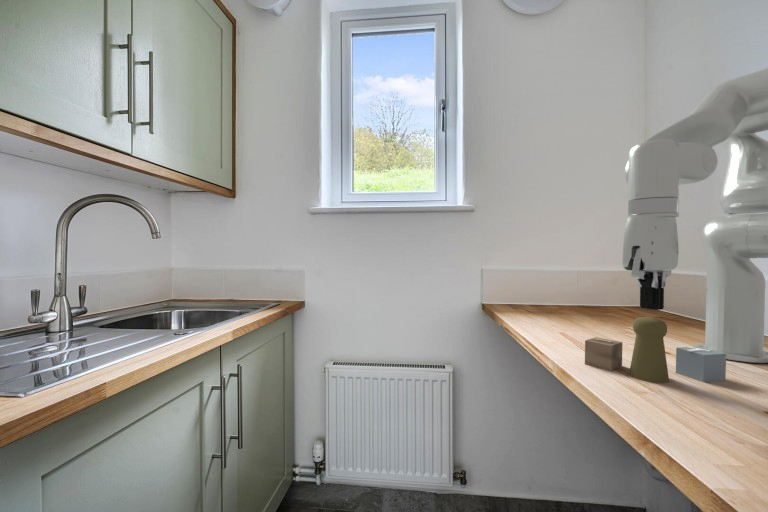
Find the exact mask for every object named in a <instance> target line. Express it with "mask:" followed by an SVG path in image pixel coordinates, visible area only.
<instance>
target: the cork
mask: <svg viewBox="0 0 768 512" xmlns="http://www.w3.org/2000/svg"><path fill="white" fill-rule="evenodd" d="M632 329H633V332H634V333H635V338H634V345H633V350H632V351H633V352H632V355H631V361H630V366H629V367H630V368H629V371H628V372H629V376H631V377H633V378H635V379H638V380H641V381H645V382H649V383H657V384H661V383H662V384H663V383H668V382H669V381H670V377H669V370H668V362H667V356H666V355H667V354H666V348H665V341H664V340H665V339H664V337H665V336H666V335H667V332H668V325H667V323H666V321H664V320H662V319H660V318H656V317H650V316H649V317H647V316H644V317H643V316H642V317H637V318H634V320H633V323H632Z"/></svg>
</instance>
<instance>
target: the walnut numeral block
mask: <svg viewBox="0 0 768 512" xmlns="http://www.w3.org/2000/svg"><path fill="white" fill-rule="evenodd" d="M584 365H587V366H590V367H595V368H598V369H603V370H606V371H610V372H612V371H614V370H616V369H619V368H620V367H623V341H618V340H612V339H610V338H609V339H607V338H602V337H597V336H595V337H593V338H590V339H585V340H584Z"/></svg>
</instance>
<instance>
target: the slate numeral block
mask: <svg viewBox="0 0 768 512" xmlns="http://www.w3.org/2000/svg"><path fill="white" fill-rule="evenodd" d="M675 351H676V353H675V354H676V355H675V374H678V375H680V376H684V377H687V378H690V379H692V380H696V381H698V382H701V383H713V381H714V382H725V381H726V379H727V378H726V376H727V375H726V374H727V372H726V370H727V359H726V354H725V353H721V352H717V351H713V350H710V349H706V348H702V347H698V346H696V345H695V346H681V347H676V350H675Z"/></svg>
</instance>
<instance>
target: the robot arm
mask: <svg viewBox="0 0 768 512" xmlns="http://www.w3.org/2000/svg"><path fill="white" fill-rule="evenodd" d="M766 131H768V68H767V67H766V68H764V69H761V70H758V71H755V72H752V73H749V74H745V75H741V76H739V77H736V78H732V79H730V80H727V81H725V82H722V83H720V84H718V85H716V86H715V87H713V88H712V89H710V91H709V92H707V93H706V95H705V96H704V97H703V98H702V99H701V101H699V103H698V104H697V105H696V106H695V107H694V108H693V110H692V111H691V112H690V113H689V114H688V115H687V116H685V117H684V118H681V119H680V120H678V121H676V122H675V123H673V124H671V125H670V126H667V127H666V128H665V129H663V130H660V132H657V133H655V134H654V135H652V136H651V137H649V138H648V139H646V140H644V141H643V142H639V143H638V144H635V145H633V146H632V147H631V148H630V150H629V152H628V160H627V162H626V164H625V167H624V178H625V181H626V182H627V184H628V186H627V188H628V189H627V190H628V192H627V193H628V194H627V195H628V197H627V201H628V202H627V203H628V205H627V219H626V222H625V228H624V234H623V244H622V245H623V246H622V258H621V259H622V268H623V269H624V270H625V271H631V273H630V274H631V277H632V278H633V279H637V283H638V287H639V306H640V307H639V308H641V309H646V310H651V311H652V310H653V311H660V310H663V309H664V308H665V304H664V303H665V287H666V282H667V278H668V277H671V275H672V270H674V269H676V268H677V267H678V264H679V235H678V233H679V232H678V224H677V217H679V215H680V213H679V212H680V210H679V209H680V208H679V207H680V206H679V205H680V204H679V203H680V201H679V200H680V199H679V198H680V186H682V185H687V184H695V183H699V182H702V181H705V180H707V179H708V178H710V177H711V176H712V175H713V174H714V173H715V171H716V169H717V166H718V164H719V163H718V155H717V153H716V151H715V150H714V149H713V148H714V147H716V146H718V145H723V147H724V150H725V151H726V155H727V166H726V170H725V175H724V178H723V183H722V187H721V191H720V198H719V199H720V200H719V201H720V207H721V208H722V210H724V211H725V212H727V213H730V214H733V215H724V216H719V217H715V218H713V219H711V220H710V221H708V222H707V223H706V224H705V225H704V226H703V228H702V233H701V234H702V235H701V237H702V239H701V240H702V245H703V250H704V255H705V262H706V264H705V265H706V292H705V293H706V294H705V295H706V296H705V329H704V330H705V332H704V333H705V336H704V337H705V339H704V340H705V341H704V342H700V343H697V344H696V345H695V347H696V346H698V347H702V348H706V349H710V350H713V351H717V352H721V353H725V354H726V360H729V361H734V362H735V361H736V362H744V363H755V364H756V363H757V364H767V363H768V352H767V351H765V350H764V349H765V348H764V345H765V344H764V343H765V308H766V307H765V306H766V278H765V276H764V273H763V272H762V271H761V270H760V268H759V267H757V265H756V264H755V263H754V262H752V260H751V259H763V258H764V259H768V140H766V139H765V138H762V137H760V136H759V135H757V134H756V133H761V132H766Z"/></svg>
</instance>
